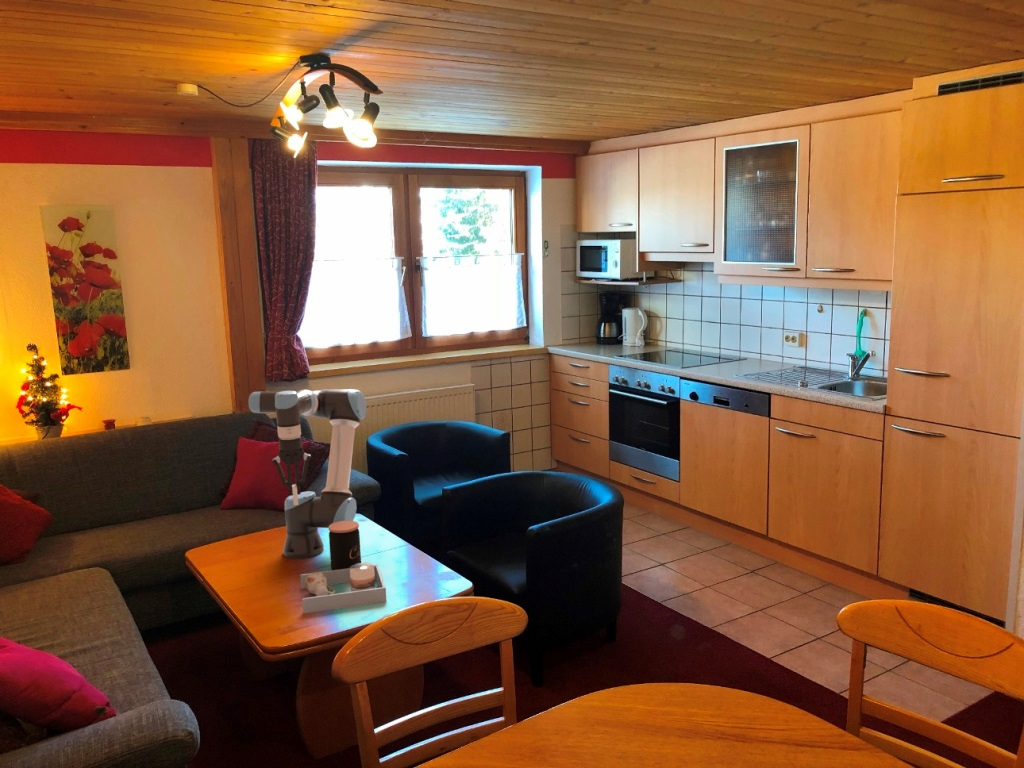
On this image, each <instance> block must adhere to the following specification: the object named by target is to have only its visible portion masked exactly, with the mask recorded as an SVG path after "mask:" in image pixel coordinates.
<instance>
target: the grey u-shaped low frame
mask: <svg viewBox="0 0 1024 768" xmlns="http://www.w3.org/2000/svg"><path fill="white" fill-rule="evenodd" d="M373 565H374V574H375V580H376V581H377V583H378V587H375V588H374V589H367V590H360V591H352V592H351V591H346V592H339V593H334V594H327V595H323V596H316V595H315V596H311V597H303V598H302V600H301V601H302V612H303V614H304V615H305V614H311V613H317V612H322V611H330V610H337V609H344V608H350V607H357V606H365V605H370V604H376V603H377V604H378V603H383V602H385V603H386V602H387V587H386V585H385V582H384V578H383V576H382V573H381V570H380V567H379V564H373ZM319 572H320V573H322V574H324V575H325V577H326V579H327V584H328V585H329V586H332V585H331V584H333V585H338V583H340V584H345V583H346V582H347V583H351V582H350V568H347V569H340V570H332V571H331V570H326V571H319ZM311 573H312V572H311ZM311 573H303V574H300V576H299V577H300V586H301V587H300V588H301V589H302V590H303V589H307V588H306V586H305V580H306V578H307V576H308V575H309V574H311ZM347 583H346V584H347Z"/></svg>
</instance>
